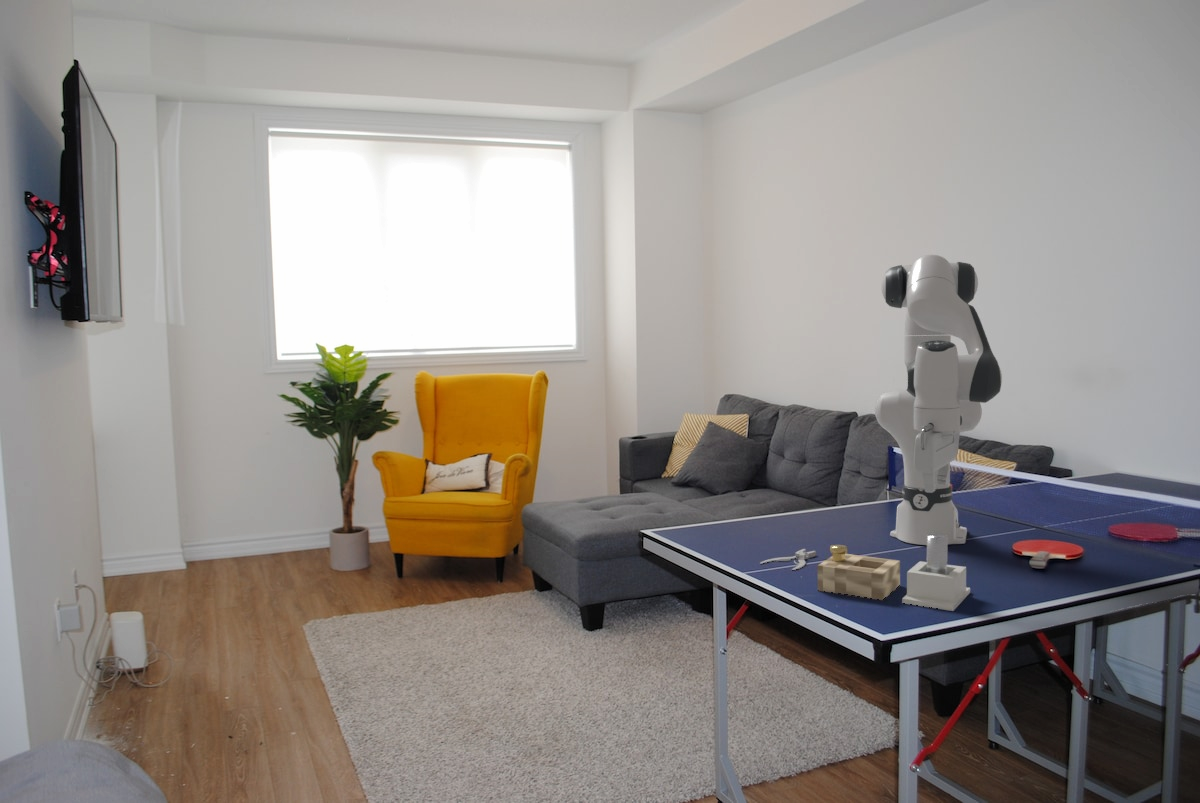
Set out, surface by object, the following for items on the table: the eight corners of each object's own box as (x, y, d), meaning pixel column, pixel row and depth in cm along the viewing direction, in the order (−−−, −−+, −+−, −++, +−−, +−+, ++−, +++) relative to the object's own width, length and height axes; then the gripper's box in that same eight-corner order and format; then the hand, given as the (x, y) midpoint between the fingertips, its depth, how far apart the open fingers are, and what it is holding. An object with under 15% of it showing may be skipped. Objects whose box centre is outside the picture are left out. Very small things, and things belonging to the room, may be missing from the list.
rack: (921, 585, 196) (921, 558, 196) (970, 592, 191) (970, 564, 190) (902, 603, 185) (902, 574, 184) (953, 611, 179) (953, 581, 179)
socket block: (837, 576, 205) (837, 552, 204) (900, 585, 197) (900, 560, 196) (817, 590, 195) (817, 565, 195) (882, 600, 187) (882, 574, 187)
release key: (833, 580, 201) (833, 543, 200) (849, 582, 199) (849, 545, 198) (827, 584, 198) (827, 547, 197) (843, 586, 196) (843, 549, 195)
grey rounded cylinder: (929, 588, 190) (929, 532, 189) (949, 591, 188) (949, 535, 187) (923, 593, 187) (924, 536, 186) (944, 597, 185) (944, 539, 184)
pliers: (758, 559, 217) (792, 546, 228) (758, 565, 217) (792, 552, 228) (794, 566, 210) (827, 552, 221) (794, 572, 210) (827, 559, 221)
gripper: (939, 427, 174) (938, 498, 176) (964, 416, 191) (964, 480, 192) (905, 426, 178) (905, 495, 179) (933, 415, 195) (933, 478, 196)
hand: (936, 487), depth 186 cm, fingers open, 8 cm apart
